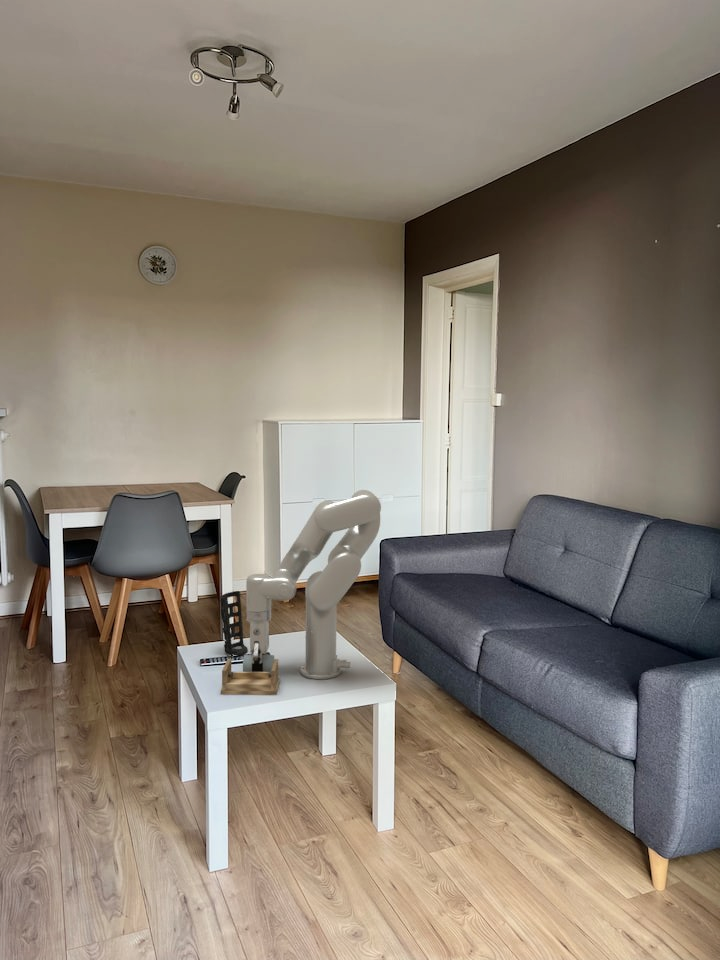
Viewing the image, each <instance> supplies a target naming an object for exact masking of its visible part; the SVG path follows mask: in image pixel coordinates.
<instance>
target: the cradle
mask: <svg viewBox="0 0 720 960" xmlns="http://www.w3.org/2000/svg"><path fill="white" fill-rule="evenodd" d="M280 680H281V679H280V677H279V659H278V658H274V663H273V667H272V670H271V672H243V671H232V658H227V660H226V662H225V664H224V666H223V668H222V670H221V689H220V691H219V693H220V695H257V696H258V695H259V696H260V695H263V696H264V695H269V696H271V695H273V696H274V695H277V693H278V690H279V686H280Z"/></svg>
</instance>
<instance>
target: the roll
mask: <svg viewBox="0 0 720 960" xmlns="http://www.w3.org/2000/svg"><path fill="white" fill-rule="evenodd" d="M258 657H259V658H260V655H258ZM252 659H253V654H244V655H243V660H242V672H252ZM274 660H275V655H274V654H265V655H262V663H263V672H271V670H272V667H273V663H274Z"/></svg>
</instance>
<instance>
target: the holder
mask: <svg viewBox="0 0 720 960" xmlns="http://www.w3.org/2000/svg"><path fill="white" fill-rule="evenodd" d="M232 597H236V602H231V603H229V601H228V600H229V599H228V598H232ZM219 598H220V599H219V601H220V615H221V620H222V633H223V638H224V644H223V646H224V647H223V648H224V653H225V654H226V655H229V656H230V655H231V656H233V655H239V656H241V655H243V654H245V653H246V652H248V647H247V646H246V645H245V644H244V631H243V630H244V629H243V617H242V614H243V613H242V602H241V601H242V600H241V591H240V590H235V591H231V592H226V593H224V594H222V595H220V596H219ZM234 607H237V611H236V612H235V611H234ZM234 617H237V618H238V621H236V622H233V623H230V618H234ZM236 627H238V632H236ZM236 637H239V641H238V642H233V643H232V639H233V638H236ZM239 647H240V648H239ZM231 656H230V657H231Z"/></svg>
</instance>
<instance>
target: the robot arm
mask: <svg viewBox="0 0 720 960" xmlns="http://www.w3.org/2000/svg"><path fill="white" fill-rule="evenodd" d="M381 504H382V503H381V502H380V499H379V498H378V497H377V496H376V495H375V494H374V493H373V492H372V491H370V490H367V489H359V490H357V491H356V492H354V493H353V495H352V496H350V498H348V499H344V500H341V501H337V502H335V501H331V500H324V501H321V502H319V503H318V504H317V506H315V509H314V510H313V512H312V513H311V515H310V516H309V518H308V520H307V521H306V523H305V524H304V526H303V528H302V529H301V531H300V533H299V535H298V536H297V538H296V539H295V541H294V542H293V543H292V545H291V547H290V548H289V550H288V551H287V553H286V554H285V555H284V557H283V558H282V560H281V562H280V563H279V566H277V568H276V570H275V572H274V573H273V576H272V577H271V576H270V575H268V574H265V573H253V574H250V575H248V576H247V578H246V579H245V580H246V581H245V583H246V584H245V589H246V590H245V591H246V594H245V595H246V601H245V602H246V605H245V607H246V610H245V611H246V613H245V614H246V619H245V620H246V621H247V622H248V623H249V653H250V655H253V659H252V672H263V663H262V655H267V652H268V650H269V648H270V633H269V632H270V629H269V627H270V626H269V622H270V621H271V620H272V600H274V601H280V602H281V601H282V602H285V601H290V600H291V599H293V598H294V596H295V595H296V593H297V582H298V580H299V578H300V577H301V575H302V573H303V572H304V571H305V569H306V567H307V566H308V565H309V564H310V562H312V561H313V560H315V559H316V558H318V556H320V554H321V553H322V551H323V550H324V548H325V547H326V544H328V543H327V542H328V541H329V540H330V538H331V536H332V535H333V534H334V533H335V532H339V531H340V532H341V531H343V530H347V531H345V533H344V535H343V537H342V538H341V539H339V541H338V543H336V545H334V547H333V548H332V549H331V551H330V552H329V554H328V557H327V565H326V566H325V567H324V569H322V571H321V570H319V571H316V572H314V573H312V574H311V575H310V576H309V577H308V578H307V580H306V582H305V589H304V590H305V591H304V592H305V664H304V665H302V666H301V667H300V674H301V675H302V676H304V677H305V678H309V679H313V680H314V679H315V680H323V679H324V680H327V679H332V678H335V677H338V676H339V675H340V674H341V673H342V669H351V661H348V660H347V659H339V658H338V655H337V623H338V622H337V618H338V617H337V608H338V607H337V605H338V603H339V602H340V600H342V599H343V597H344V596H345V595H346V593H347V592H348V591H349V590H350V588H351V587H352V585H353V584H354V583H355V581H356V580H357V579H358V577H359V575H360V573H361V570H362V561H361V559H362V558H363V557H364V555H365V554H366V552H368V550H369V549H370V547H371V545H372V544H373V543H374V541H375V540H376V537H377V536H378V533H379V530H380V527H381V512H382V505H381ZM258 655H260V658H259V657H258ZM341 668H342V669H341Z"/></svg>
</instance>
